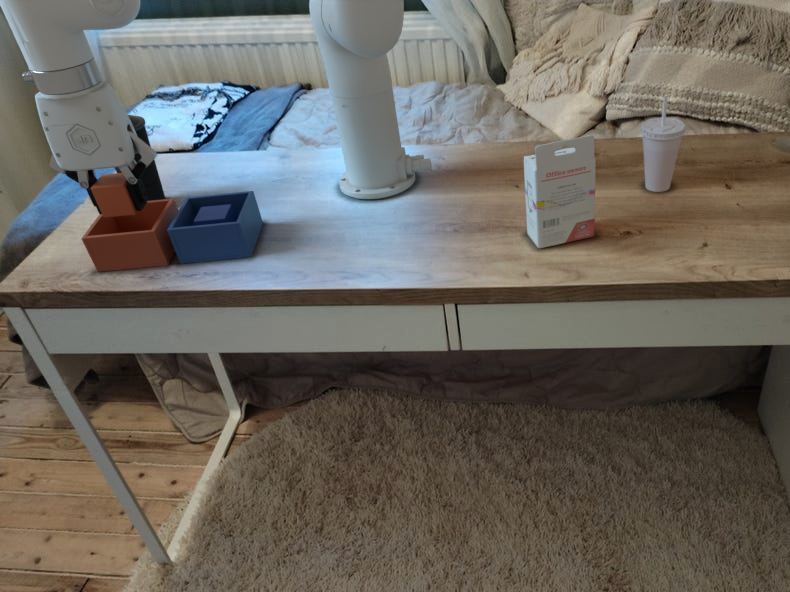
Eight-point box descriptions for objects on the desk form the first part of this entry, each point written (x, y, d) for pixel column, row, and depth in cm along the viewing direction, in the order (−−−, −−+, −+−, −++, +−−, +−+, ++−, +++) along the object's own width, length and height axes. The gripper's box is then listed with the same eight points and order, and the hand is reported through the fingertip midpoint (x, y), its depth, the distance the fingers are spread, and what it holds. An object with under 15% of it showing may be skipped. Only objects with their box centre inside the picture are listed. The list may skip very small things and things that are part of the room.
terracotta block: (145, 200, 103) (133, 171, 100) (135, 214, 99) (122, 185, 97) (114, 203, 103) (101, 174, 100) (103, 217, 99) (90, 188, 97)
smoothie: (634, 195, 107) (641, 103, 99) (637, 176, 112) (644, 87, 103) (678, 196, 106) (688, 103, 97) (679, 178, 111) (689, 87, 102)
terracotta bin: (186, 230, 110) (174, 198, 106) (167, 265, 102) (153, 231, 98) (121, 237, 110) (106, 204, 106) (97, 272, 102) (81, 238, 98)
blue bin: (263, 223, 110) (253, 190, 106) (250, 257, 102) (239, 223, 98) (197, 229, 110) (185, 197, 106) (180, 263, 102) (166, 230, 98)
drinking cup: (117, 211, 117) (63, 89, 104) (153, 191, 122) (105, 72, 109) (149, 219, 114) (97, 93, 101) (184, 198, 119) (139, 76, 106)
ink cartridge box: (581, 221, 102) (583, 121, 93) (595, 237, 99) (598, 135, 89) (525, 233, 101) (521, 133, 92) (537, 250, 97) (534, 147, 88)
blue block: (240, 230, 107) (231, 204, 104) (233, 245, 104) (224, 218, 101) (210, 233, 107) (200, 206, 104) (203, 248, 104) (193, 221, 101)
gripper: (-13, 93, 87) (54, 226, 98) (125, 81, 87) (175, 215, 98) (15, 74, 92) (75, 201, 104) (143, 62, 92) (189, 191, 104)
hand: (123, 207), depth 101 cm, fingers closed on terracotta block, 4 cm apart
